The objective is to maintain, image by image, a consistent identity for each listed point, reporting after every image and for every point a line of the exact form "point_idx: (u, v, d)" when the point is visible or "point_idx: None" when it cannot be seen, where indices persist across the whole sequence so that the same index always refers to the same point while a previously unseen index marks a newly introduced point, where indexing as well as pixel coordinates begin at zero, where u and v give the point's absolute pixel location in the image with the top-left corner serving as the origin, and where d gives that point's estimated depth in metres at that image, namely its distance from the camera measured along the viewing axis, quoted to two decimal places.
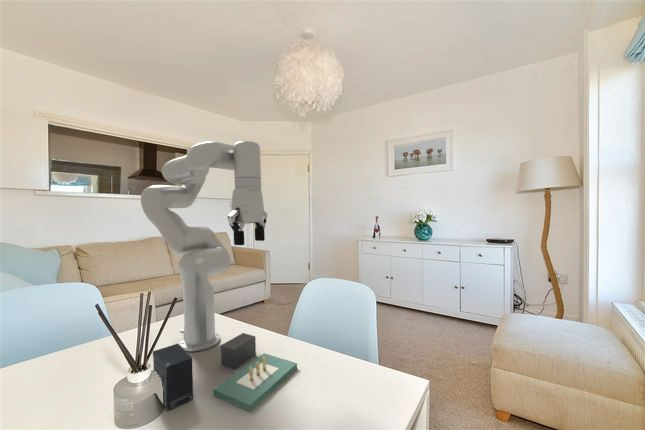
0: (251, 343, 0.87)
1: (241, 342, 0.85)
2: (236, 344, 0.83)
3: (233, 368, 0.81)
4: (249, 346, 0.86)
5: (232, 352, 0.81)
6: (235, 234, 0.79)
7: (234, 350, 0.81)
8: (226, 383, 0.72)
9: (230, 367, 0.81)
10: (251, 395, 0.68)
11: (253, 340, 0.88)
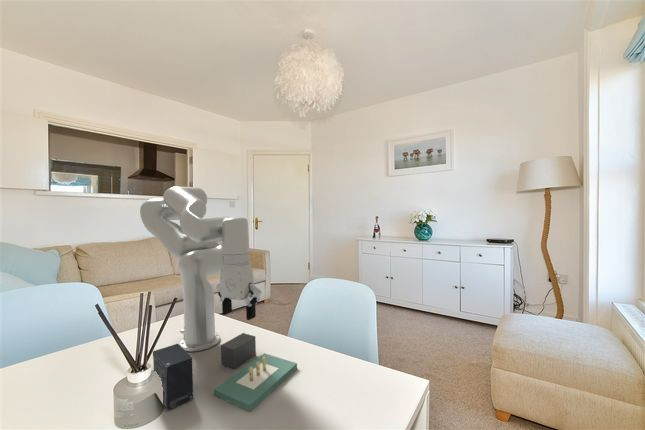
0: (251, 343, 0.87)
1: (241, 342, 0.85)
2: (236, 344, 0.83)
3: (233, 368, 0.81)
4: (249, 346, 0.86)
5: (232, 352, 0.81)
6: (252, 308, 0.82)
7: (234, 350, 0.81)
8: (226, 383, 0.72)
9: (230, 367, 0.81)
10: (251, 395, 0.68)
11: (253, 340, 0.88)
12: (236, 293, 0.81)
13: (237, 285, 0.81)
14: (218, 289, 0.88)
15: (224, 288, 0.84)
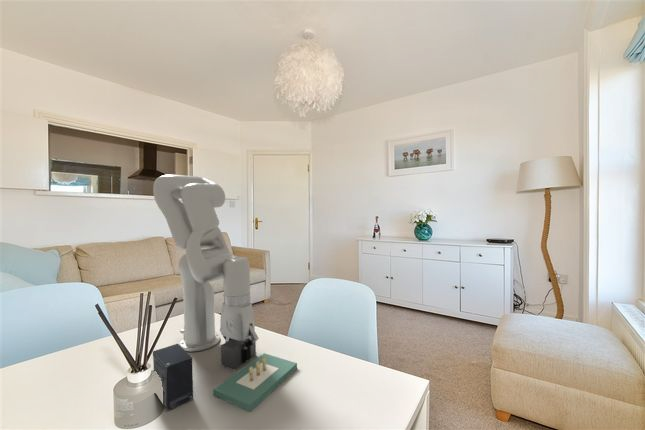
0: None
1: (241, 342, 0.85)
2: (236, 344, 0.83)
3: (233, 368, 0.81)
4: None
5: (232, 352, 0.81)
6: (247, 351, 0.84)
7: (234, 350, 0.81)
8: (226, 383, 0.72)
9: (230, 367, 0.81)
10: (251, 395, 0.68)
11: None
12: (236, 334, 0.82)
13: (238, 326, 0.82)
14: None
15: (225, 328, 0.84)
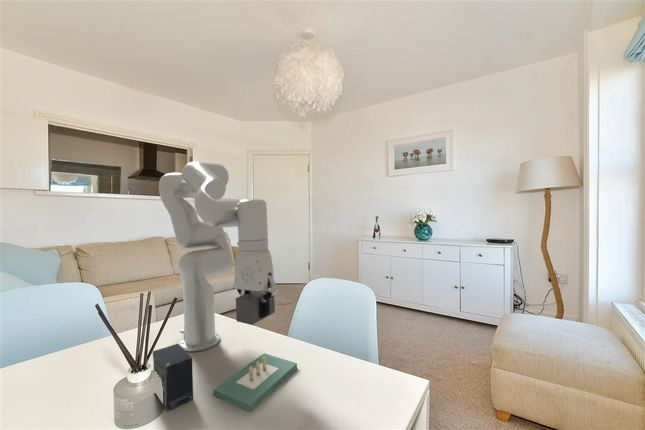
0: None
1: (259, 295, 0.74)
2: (253, 297, 0.73)
3: (251, 322, 0.70)
4: None
5: (249, 304, 0.70)
6: (266, 305, 0.73)
7: (252, 301, 0.70)
8: (226, 383, 0.72)
9: (247, 322, 0.71)
10: (251, 395, 0.68)
11: None
12: (254, 284, 0.72)
13: (255, 275, 0.71)
14: None
15: (240, 279, 0.74)
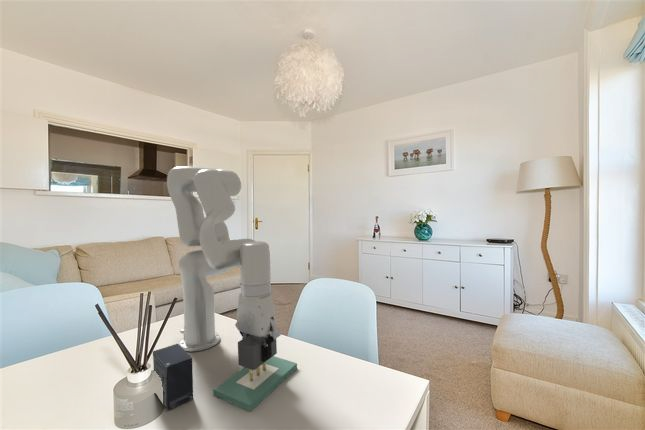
0: None
1: None
2: (255, 340, 0.73)
3: (253, 368, 0.70)
4: None
5: (252, 349, 0.70)
6: (268, 349, 0.73)
7: (254, 347, 0.70)
8: (226, 383, 0.72)
9: (249, 367, 0.71)
10: (251, 395, 0.68)
11: None
12: (256, 329, 0.71)
13: (257, 320, 0.71)
14: None
15: (242, 322, 0.74)
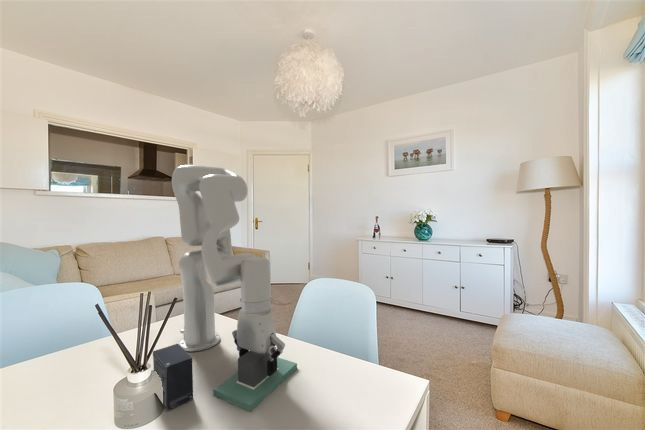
0: None
1: (261, 354, 0.74)
2: (255, 357, 0.73)
3: (253, 385, 0.71)
4: None
5: (251, 367, 0.70)
6: (274, 363, 0.72)
7: (254, 364, 0.71)
8: (226, 383, 0.72)
9: (249, 384, 0.71)
10: (251, 395, 0.68)
11: None
12: (256, 346, 0.72)
13: (257, 337, 0.71)
14: (234, 336, 0.78)
15: (242, 338, 0.74)
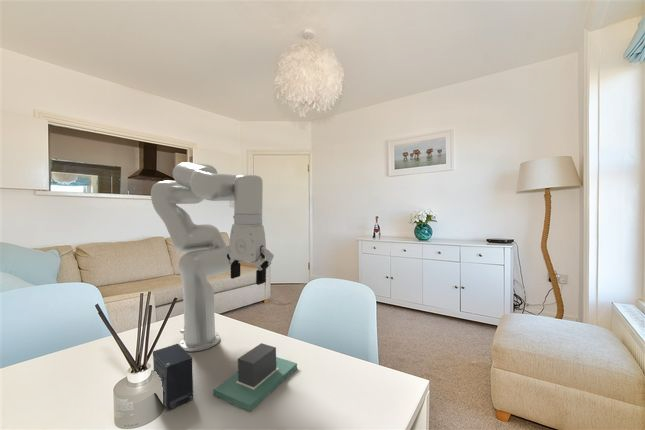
0: (272, 355, 0.77)
1: (261, 354, 0.74)
2: (255, 357, 0.73)
3: (253, 385, 0.71)
4: (270, 359, 0.76)
5: (251, 367, 0.70)
6: (263, 273, 0.77)
7: (254, 364, 0.71)
8: (226, 383, 0.72)
9: (249, 384, 0.71)
10: (251, 395, 0.68)
11: (273, 352, 0.77)
12: (246, 255, 0.76)
13: (248, 247, 0.76)
14: (227, 252, 0.83)
15: (234, 250, 0.78)
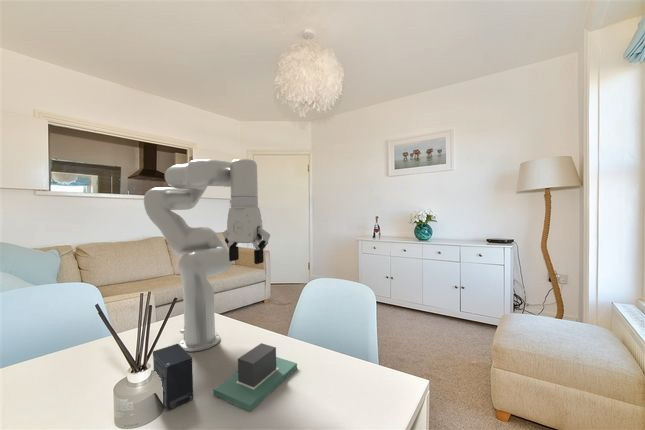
0: (272, 355, 0.77)
1: (261, 354, 0.74)
2: (255, 357, 0.73)
3: (253, 385, 0.71)
4: (270, 359, 0.76)
5: (251, 367, 0.70)
6: (260, 252, 0.79)
7: (254, 364, 0.71)
8: (226, 383, 0.72)
9: (249, 384, 0.71)
10: (251, 395, 0.68)
11: (273, 352, 0.77)
12: (244, 236, 0.79)
13: (245, 228, 0.79)
14: (225, 236, 0.86)
15: (231, 232, 0.81)
